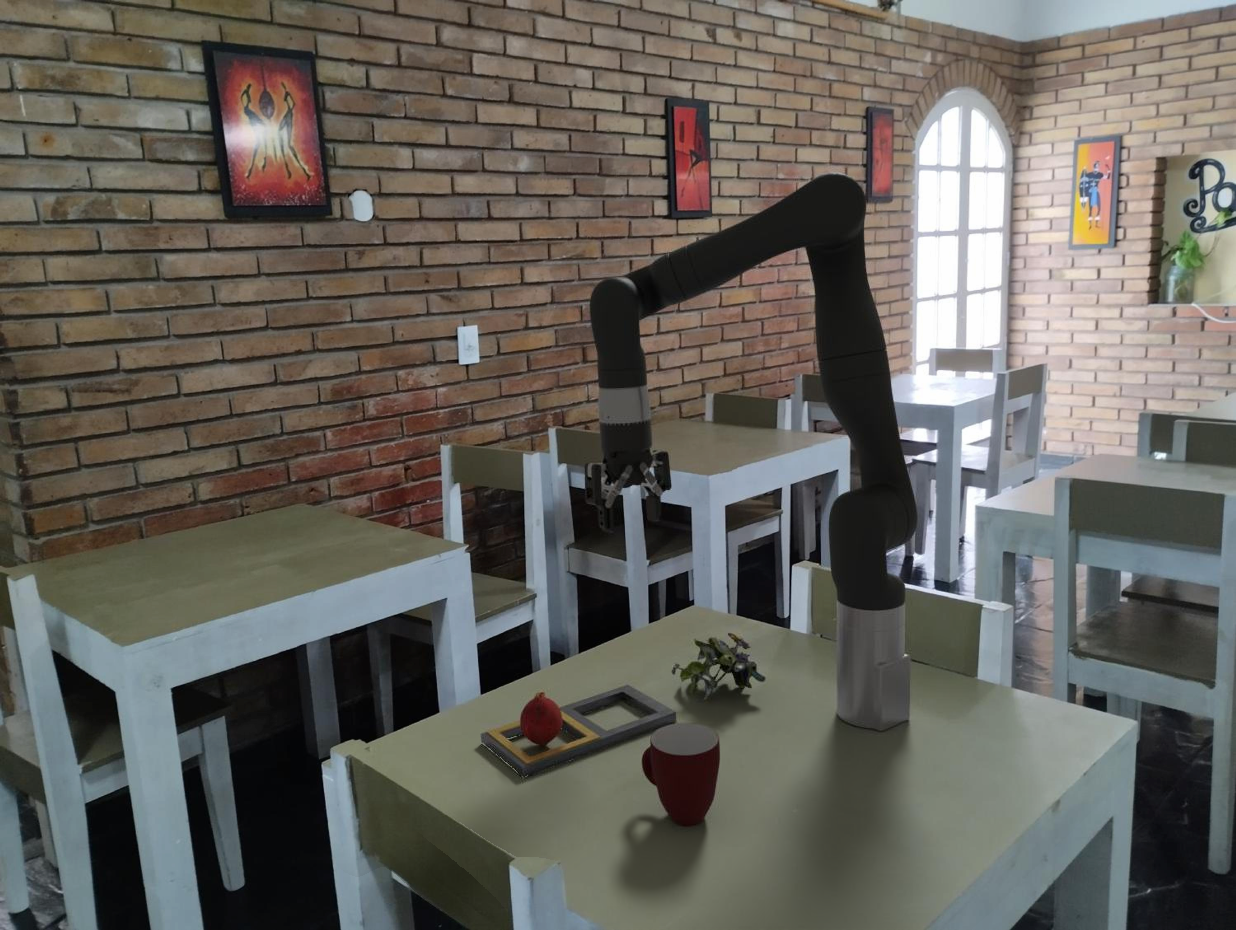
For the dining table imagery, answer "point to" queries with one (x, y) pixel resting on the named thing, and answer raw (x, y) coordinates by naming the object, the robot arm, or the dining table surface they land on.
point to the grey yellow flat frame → (581, 730)
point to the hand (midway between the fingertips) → (631, 526)
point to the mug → (684, 769)
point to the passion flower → (727, 660)
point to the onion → (541, 720)
